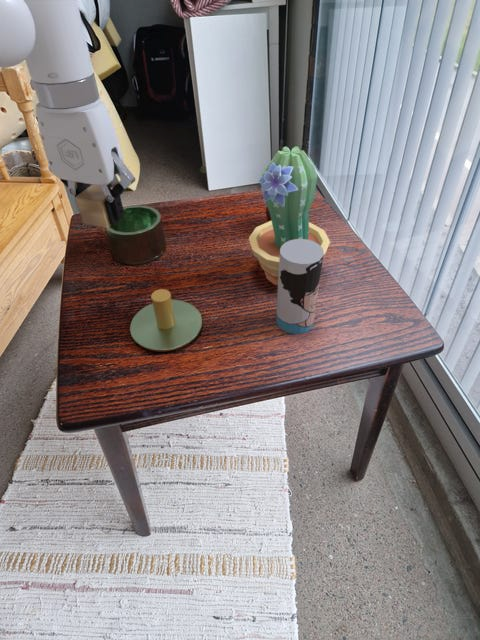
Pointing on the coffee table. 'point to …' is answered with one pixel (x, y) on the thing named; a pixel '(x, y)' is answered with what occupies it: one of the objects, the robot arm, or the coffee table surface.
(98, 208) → the block
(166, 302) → the lid
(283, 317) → the white printed cylinder
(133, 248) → the bowl
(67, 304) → the coffee table surface
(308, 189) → the potted cactus
